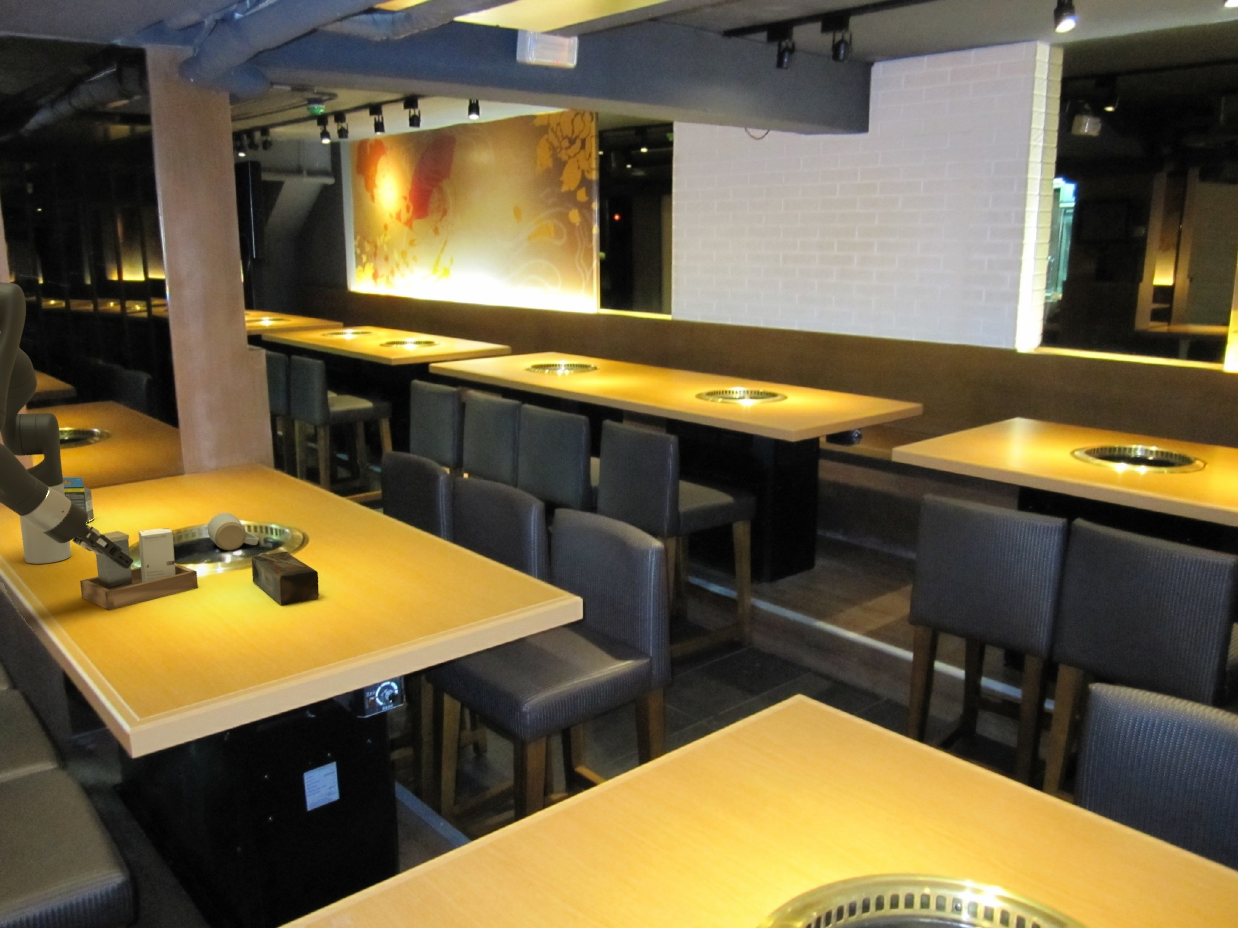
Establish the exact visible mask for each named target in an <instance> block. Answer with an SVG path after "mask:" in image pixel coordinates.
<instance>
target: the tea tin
mask: <svg viewBox="0 0 1238 928" xmlns="http://www.w3.org/2000/svg"><path fill="white" fill-rule="evenodd" d="M101 534H102V535H105V537H107V538H108V539H110V540H111V541H112V542H113V543H114V544H116V545H117V546H118V547H120V548H121V549H122V550H121V551H122V552H123V553H124V554H126V555H127V556H129V557H130V558H131V555H130V553H131V552H130V544H129V539H130V535H129V533H125V532H122V531H120V530H116V531H110V532H106V533H101ZM112 549H113V548H112ZM112 549H111V550H110V551H109V553H110V552H111V551H112ZM96 550H98V549H96ZM95 556H96V567H97V568H96V570H97V577H98V580H99V585H101V586H103V587H106V588H108V589H112V588H116V587H121V586H125V585H129V584H132V576H131V569H132V567H131V565H132V564H131V565H130V567H129V568H127V569H126V568H123V567H122V566H120V565H119V564H118V563H116V562H115V561H113V560H111V559H108V557H106V556H105V555H103V554H95Z"/></svg>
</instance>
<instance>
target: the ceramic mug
mask: <svg viewBox="0 0 1238 928" xmlns="http://www.w3.org/2000/svg"><path fill="white" fill-rule="evenodd" d="M207 535H208V537H209V538H210V540H211V541H212V542H213V543H214V544H215V545H216V546H217V547H218V548H219V549H221V550H224V551H234V550H237V549H239V548H240V547H242V546H243V544H246V545H250V546H257V545H258V542H259V540H260V539H259V537H258V536H257V535H255V534H253V533H250V532H248V531H246V528H245V526H244V525H243V523H242V522H241V520H240V519H239V518H238V517H237V516H236V515H234V514H232V513H230V512H221V513H218V514H216V515H214V516H213V517H212V518H211V519H210V520H209V522H208V525H207Z"/></svg>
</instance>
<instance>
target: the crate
mask: <svg viewBox="0 0 1238 928" xmlns="http://www.w3.org/2000/svg"><path fill="white" fill-rule="evenodd" d="M197 572H198V571H197V570H194V569H191V568H188V567H187V566H183V565H180V564H179V563H175V575H173V576H169V577H165V578H160V579H156V580H152V581H148V582H144V583H142V573H141V566H138V567H135V568H134V567H133V568H131V576H132V584H129V585H125V586H121V587H116V588H112V589H108V588H106V587H103V586H101V585H99V580H98V576H93V577H90V578H85V579H81V580H80V581H79V583H80V584H79V585H80V591H81V598H83V599H84V600H87V601H89V602H90V603H93V604H95V605H97V606H100V607H102V608H104V609H106V610H108V611H111V610H116V609H119V608H123V607H126V606H131V605H135V604H139V603H143V602H147V601H151V600H154V598H155V599H159V598H164V597H166V596H165V595H167V596H171V595H174V594H179V593H182V592H183V593H184V592H186V591H190V590H194V589H198V587H199V584H198V574H197ZM142 601H143V602H142Z"/></svg>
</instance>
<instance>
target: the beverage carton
mask: <svg viewBox="0 0 1238 928" xmlns="http://www.w3.org/2000/svg"><path fill="white" fill-rule="evenodd" d="M251 573H252V575H251V576H252V583H253V582H254V583H253V584H255V585H256V586H257V587H258V586H259V587H260V588H261V589H260V588H259V587H258V588H259V589H260V590H261V591H262V592H264V593H265V594H267V595H268V596H269V597H271V599H273V600H274V601H276V602H277V603H278V604H280V606H287V605H291V604H299V603H305V602H310V601H315V600H319V595H320V594H319V591H320V590H319V573H318V571H317V570H315V569H314V568H313V567H311V566H309V565H308V564H307V563H304V562H303V561H302V560H299V559H298V558H297V557H295V556H294V555H292V554H290V552H288V551H281V552H279V551H278V552H273V553H266V552H262V553H259V554H258V555H254V556H251Z"/></svg>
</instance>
